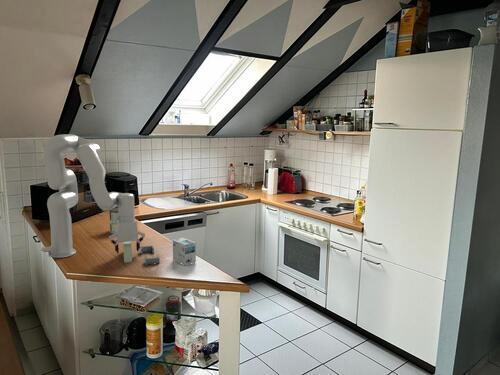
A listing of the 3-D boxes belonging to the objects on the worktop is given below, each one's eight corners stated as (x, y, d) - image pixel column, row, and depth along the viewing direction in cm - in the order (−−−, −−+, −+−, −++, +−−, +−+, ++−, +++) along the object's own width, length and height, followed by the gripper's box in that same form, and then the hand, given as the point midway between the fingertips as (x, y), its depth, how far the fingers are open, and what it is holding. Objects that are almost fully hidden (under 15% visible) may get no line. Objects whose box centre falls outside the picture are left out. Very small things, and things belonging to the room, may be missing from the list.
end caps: (145, 265, 183) (145, 259, 183) (139, 252, 201) (139, 246, 201) (159, 263, 186) (159, 257, 185) (152, 250, 204) (152, 245, 203)
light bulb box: (196, 263, 188) (196, 242, 186) (185, 266, 184) (185, 244, 182) (183, 257, 196) (183, 237, 194) (172, 260, 191) (172, 239, 189)
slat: (124, 262, 186) (124, 248, 185) (123, 252, 201) (123, 239, 200) (131, 262, 187) (131, 248, 186) (130, 251, 202) (130, 238, 201)
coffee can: (106, 231, 236) (105, 209, 234) (120, 228, 244) (120, 206, 242) (116, 234, 230) (116, 211, 228) (131, 231, 239) (130, 208, 236)
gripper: (108, 221, 184) (109, 255, 187) (145, 218, 191) (146, 251, 194) (107, 217, 191) (108, 250, 194) (143, 215, 198) (144, 247, 200)
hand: (127, 251), depth 194 cm, fingers open, 9 cm apart
